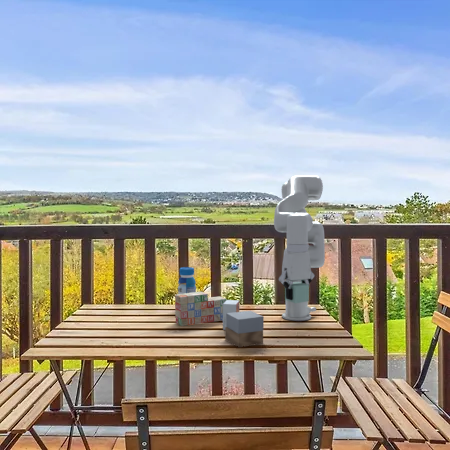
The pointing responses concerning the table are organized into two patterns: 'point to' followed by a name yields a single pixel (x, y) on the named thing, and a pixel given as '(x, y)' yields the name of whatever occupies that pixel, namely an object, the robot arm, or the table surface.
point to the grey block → (244, 322)
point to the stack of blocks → (198, 308)
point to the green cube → (299, 292)
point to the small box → (229, 309)
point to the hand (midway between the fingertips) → (296, 297)
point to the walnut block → (243, 337)
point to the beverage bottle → (186, 281)
